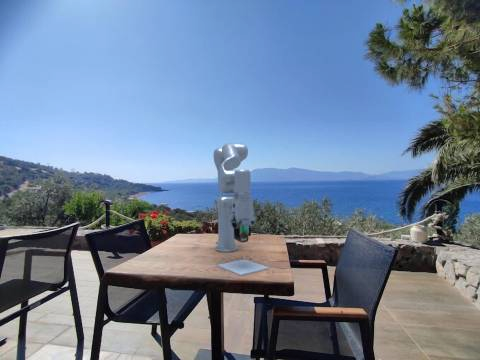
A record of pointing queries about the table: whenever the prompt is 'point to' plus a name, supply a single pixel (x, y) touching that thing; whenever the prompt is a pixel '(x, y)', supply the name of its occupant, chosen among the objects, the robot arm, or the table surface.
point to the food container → (243, 231)
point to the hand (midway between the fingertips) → (242, 235)
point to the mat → (242, 267)
